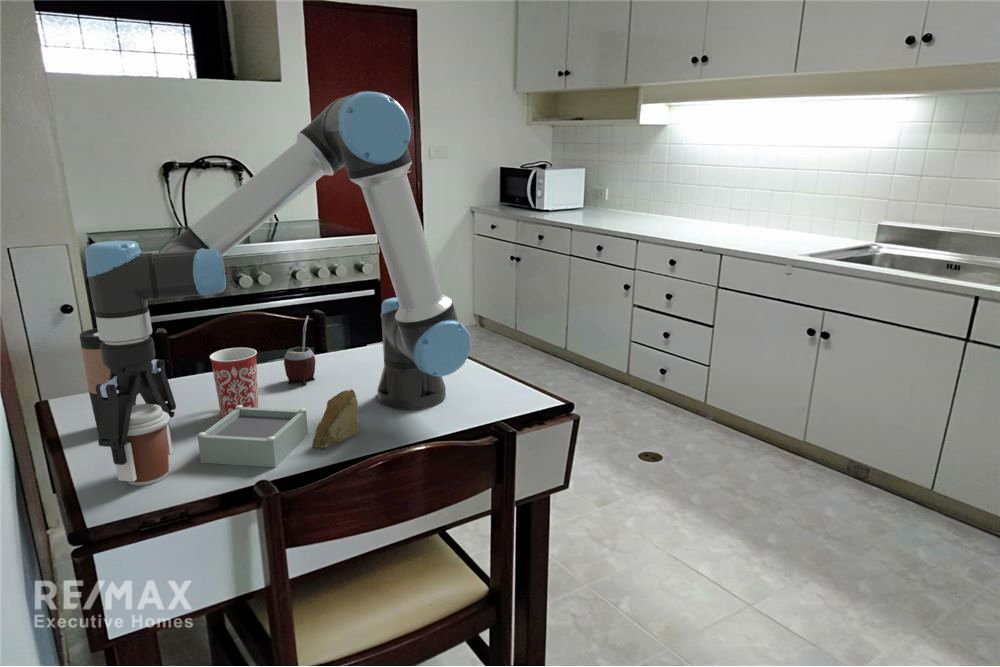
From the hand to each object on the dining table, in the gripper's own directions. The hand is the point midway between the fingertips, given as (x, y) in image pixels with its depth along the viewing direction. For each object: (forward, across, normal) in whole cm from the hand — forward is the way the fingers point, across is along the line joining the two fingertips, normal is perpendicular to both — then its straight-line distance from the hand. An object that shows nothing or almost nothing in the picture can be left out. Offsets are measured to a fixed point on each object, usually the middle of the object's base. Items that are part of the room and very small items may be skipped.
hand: (146, 465), depth 112 cm
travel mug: (+2, -18, -19) cm, 26 cm away
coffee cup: (+2, 0, 0) cm, 2 cm away
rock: (+2, -19, +26) cm, 32 cm away
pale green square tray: (+2, -13, +13) cm, 18 cm away
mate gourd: (+2, -49, +6) cm, 49 cm away
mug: (+2, -29, +1) cm, 29 cm away
